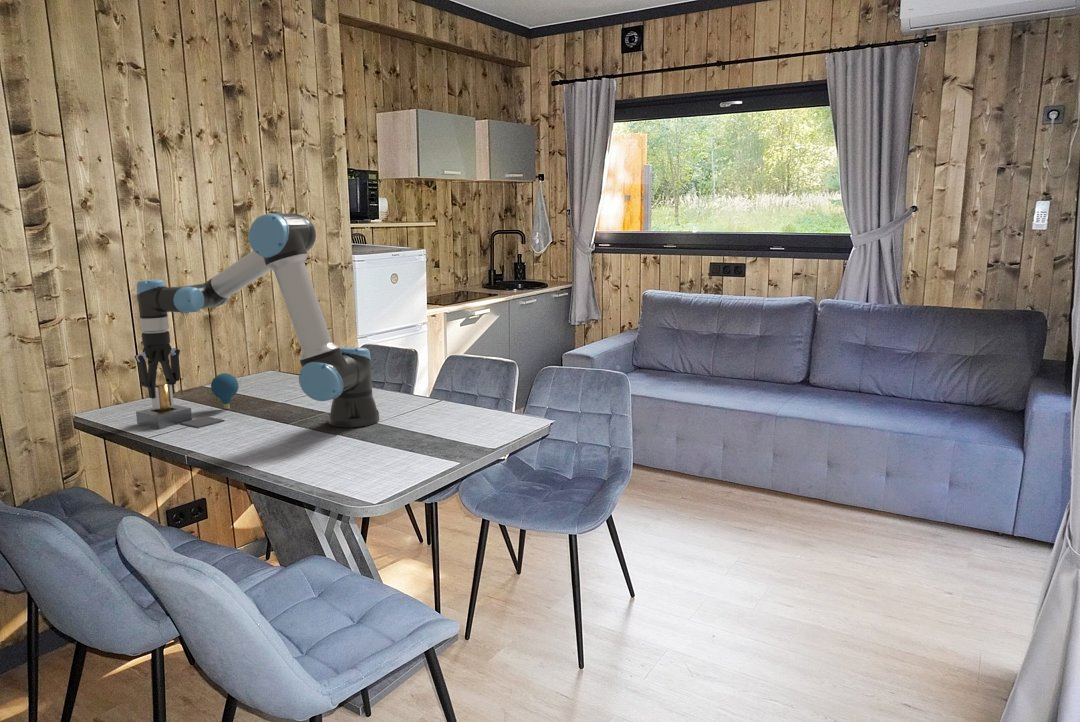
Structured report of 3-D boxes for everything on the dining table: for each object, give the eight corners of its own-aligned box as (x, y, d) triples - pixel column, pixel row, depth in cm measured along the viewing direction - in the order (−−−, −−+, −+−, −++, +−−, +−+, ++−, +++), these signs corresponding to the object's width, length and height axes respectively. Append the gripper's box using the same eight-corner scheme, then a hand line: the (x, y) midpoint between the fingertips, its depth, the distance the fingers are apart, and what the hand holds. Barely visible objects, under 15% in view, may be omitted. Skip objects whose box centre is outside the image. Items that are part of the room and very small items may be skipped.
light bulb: (222, 413, 243) (218, 377, 241) (208, 410, 248) (204, 374, 246) (245, 408, 250) (242, 372, 247) (231, 405, 255) (228, 370, 252)
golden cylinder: (167, 420, 236) (163, 382, 234) (174, 421, 234) (170, 383, 232) (155, 423, 233) (151, 384, 231) (162, 424, 231) (158, 386, 229)
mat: (224, 421, 234) (224, 419, 234) (198, 428, 227) (198, 426, 227) (206, 417, 239) (205, 416, 239) (180, 424, 231) (179, 422, 231)
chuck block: (192, 420, 235) (191, 408, 235) (159, 429, 226) (157, 416, 225) (170, 416, 241) (169, 403, 240) (137, 424, 231) (135, 411, 231)
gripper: (173, 326, 237) (180, 399, 241) (120, 334, 223) (129, 411, 227) (188, 328, 233) (195, 402, 238) (135, 335, 219) (144, 414, 223)
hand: (163, 406), depth 232 cm, fingers closed on golden cylinder, 4 cm apart
